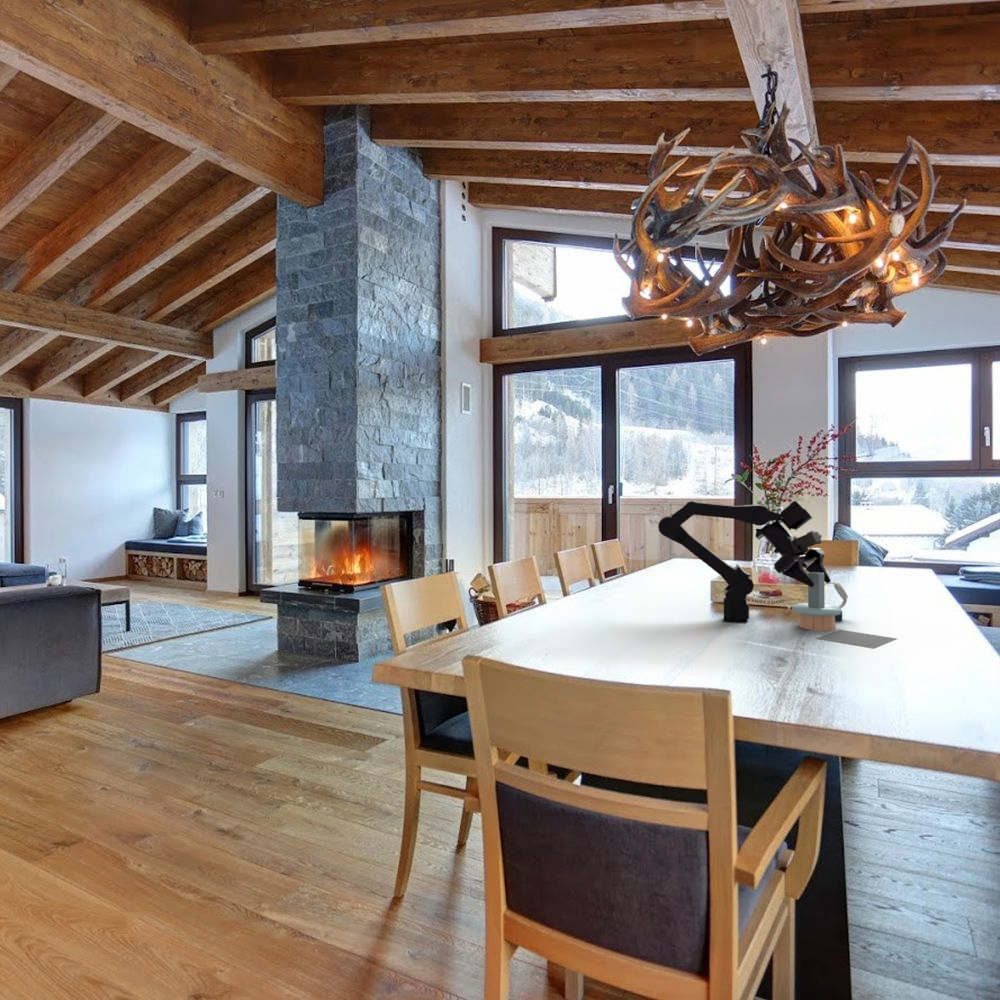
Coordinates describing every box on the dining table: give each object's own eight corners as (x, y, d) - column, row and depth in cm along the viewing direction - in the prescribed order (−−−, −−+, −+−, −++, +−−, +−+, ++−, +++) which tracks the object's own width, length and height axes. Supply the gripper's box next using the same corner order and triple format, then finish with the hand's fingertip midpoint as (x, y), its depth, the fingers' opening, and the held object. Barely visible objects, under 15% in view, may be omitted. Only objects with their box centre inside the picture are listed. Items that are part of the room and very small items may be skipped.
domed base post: (784, 611, 184) (783, 573, 184) (805, 605, 192) (805, 568, 191) (828, 618, 175) (828, 577, 174) (849, 611, 182) (848, 572, 182)
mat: (814, 640, 170) (815, 638, 170) (840, 631, 179) (840, 629, 179) (874, 650, 159) (873, 648, 159) (897, 640, 168) (897, 638, 168)
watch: (850, 622, 189) (849, 583, 189) (818, 621, 191) (818, 583, 191) (845, 618, 194) (845, 580, 194) (815, 617, 197) (814, 580, 196)
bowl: (800, 630, 181) (799, 613, 181) (798, 623, 189) (797, 607, 189) (836, 632, 178) (836, 615, 177) (832, 625, 186) (832, 609, 186)
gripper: (784, 523, 179) (826, 568, 171) (817, 519, 191) (858, 561, 183) (757, 550, 186) (796, 595, 178) (791, 545, 198) (829, 587, 190)
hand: (821, 584), depth 182 cm, fingers open, 9 cm apart
